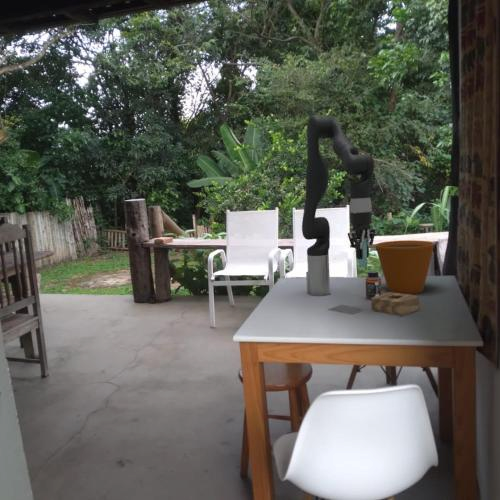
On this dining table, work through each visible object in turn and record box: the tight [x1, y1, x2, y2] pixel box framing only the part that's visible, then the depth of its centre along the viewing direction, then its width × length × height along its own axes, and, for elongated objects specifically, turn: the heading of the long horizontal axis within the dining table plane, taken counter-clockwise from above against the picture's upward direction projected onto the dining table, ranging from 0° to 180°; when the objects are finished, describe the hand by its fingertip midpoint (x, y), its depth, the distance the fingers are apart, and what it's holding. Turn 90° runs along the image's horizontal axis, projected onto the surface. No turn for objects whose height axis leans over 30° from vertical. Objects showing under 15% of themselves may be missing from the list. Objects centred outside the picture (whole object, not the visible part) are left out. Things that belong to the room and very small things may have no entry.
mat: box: [327, 304, 368, 315], centre depth 181 cm, size 12×9×1 cm
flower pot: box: [375, 239, 435, 294], centre depth 208 cm, size 24×24×20 cm
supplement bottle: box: [365, 270, 382, 301], centre depth 195 cm, size 6×6×11 cm
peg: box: [357, 239, 368, 268], centre depth 176 cm, size 3×3×10 cm
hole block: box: [370, 291, 420, 317], centre depth 176 cm, size 12×12×5 cm
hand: (362, 258), depth 176 cm, fingers closed on peg, 3 cm apart
